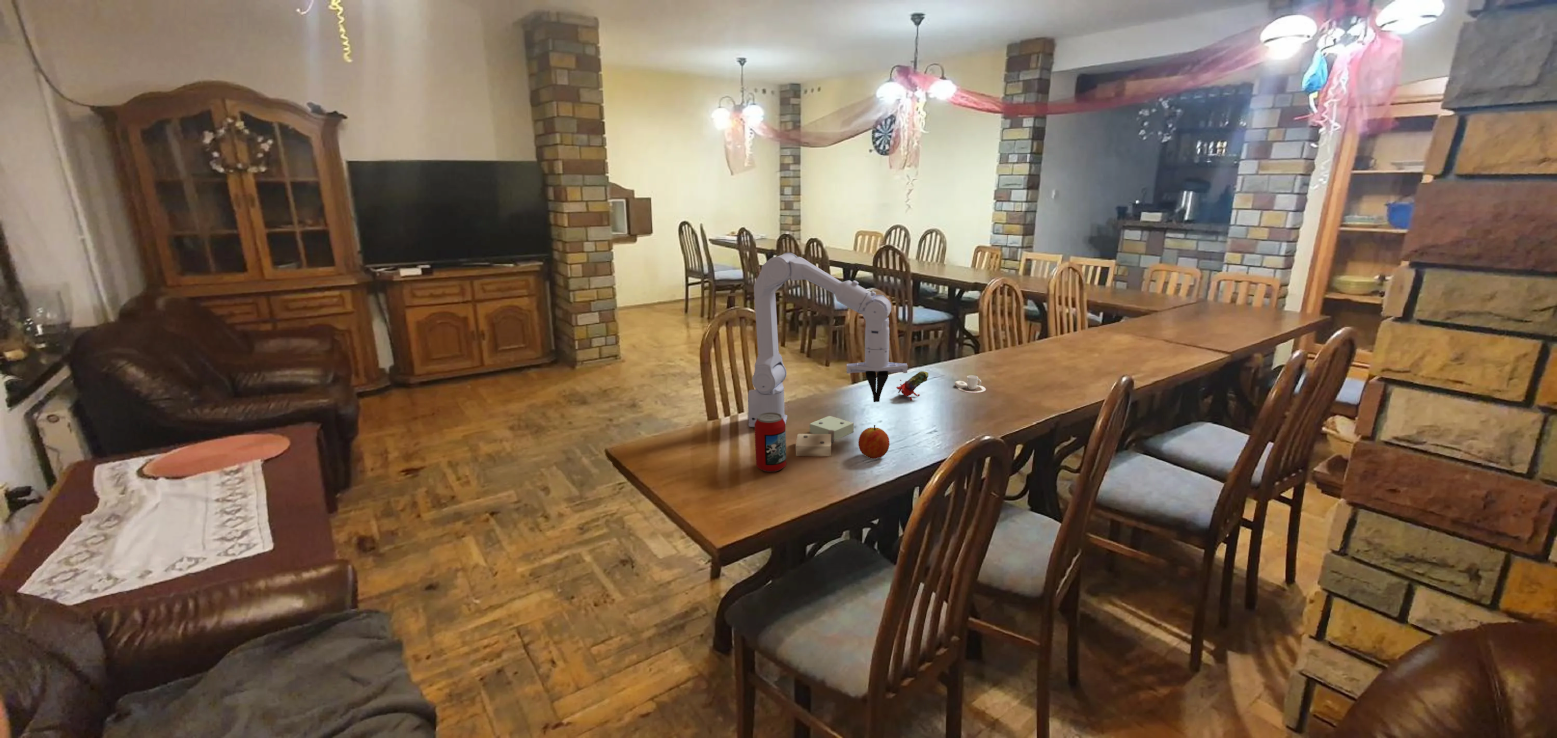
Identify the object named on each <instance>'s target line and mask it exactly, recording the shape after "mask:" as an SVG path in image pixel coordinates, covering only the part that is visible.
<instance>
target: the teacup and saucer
mask: <svg viewBox="0 0 1557 738" xmlns="http://www.w3.org/2000/svg"><path fill="white" fill-rule="evenodd" d="M978 381H979V384H978ZM981 384H982V380H981V379H980V378H979V377H978V376H977V375H966V381H963V380H956V381H955V382H954V386H956V388H957V389H958V390H959V391H961V392H965V393H972V394H973V393H976V394H977V393H978V394H979V393H982V392H985V391H986V390H987V389H986V387H985V386H983V385H981ZM966 388H968V390H965V389H966ZM977 388H980V389H981V390H977V391H973V390H976V389H977ZM971 390H972V391H971Z"/></svg>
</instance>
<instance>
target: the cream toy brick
mask: <svg viewBox="0 0 1557 738" xmlns="http://www.w3.org/2000/svg"><path fill="white" fill-rule="evenodd" d="M854 427H855V425H854V422H852V421H849V420H844V419H842V418H839V417H835V416H832V415H827V416H825V417H822V418H821V419H818V420H815V421H813V422H811V423H809V434H828V431H829V430H834V441H836V440H839V439H841V438H843V437H845V436H848V435H850V434H853V433H854V432H855V431H854Z"/></svg>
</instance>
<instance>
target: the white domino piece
mask: <svg viewBox="0 0 1557 738" xmlns="http://www.w3.org/2000/svg"><path fill="white" fill-rule="evenodd" d="M796 437H797V438H796V440H795V441H796V442H795V456H796V457H797V456H798V457H799V456H800V457H801V456H802V457H804V456H805V457H831V456H832V455H831V454H832V443H833V444H834V443H835V440H834V430H829V431H828V434H813V433H797V436H796Z"/></svg>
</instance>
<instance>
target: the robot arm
mask: <svg viewBox="0 0 1557 738" xmlns="http://www.w3.org/2000/svg"><path fill="white" fill-rule="evenodd" d="M804 280H805V281H808V282H810V283H812V284H814V285H816V286H818V287H820V288H822V289H824V290H826V291H827V292H830V293H832V294H834V296H835V299H836V301H837V302H838V303H840V304H841V305H843V306H844V307H847V308H848V309H851V310H852V311H854V312H856V313H858V314H862V317H863V319H864V321H865V328H864V361H863V362H855V363H846V374H852V373H855V374H856V373H861V374H862V373H865V378H866V381H867V383H868V385H869V387H870V389H871V392H872V393H871V394H872V398H873V403H880V400H881V399H880V398H881V395H882V392H883V388H884V386H885V384H886V382H887V381H888V379H889V373H902V374H908V363H907V362H906V363H905V362H904V363H903V362H901V363H900V362H890V361H889V360H890V327H889V325H890V320H889V319H890V318H889V316H890V313H891V312H892V303H891V301H890V300H889V298H887V297H886V296H885V295H883V294H877V292H876V291H873V290H872V291H870V290H868V289H866V288H864V287H862V286H861V285H859V284H860V283H859V282H858V281H857V280H853V281H851V280H850V279H849V280H845V281H841V280H839V279H838V278H836V277H834V276H833V275H832V274H830V273H828V272H825V270H822V269H821V268H819V267H818V266H817V265H815V264H813V263H811V262H809V260H807V259H805V258H803V257H801V256H797V255H796V254H794V253H793V252H784V253H783V254H781V255H778V256H773V257H771V258H769V259H768V260H767V261H766V262H765V263H763V264H762V265H761V270H760V272H759V274H758V275H757V278H756V280H755V282H754V284H753V295H754V296H753V297H754V298H753V299H754V309H755V310H754V311H755V312H754V313H755V324H756V325H755V326H756V339H757V341H756V342H757V354H758V355H757V357H756V360H755V364H754V373H753V375H752V378H751V382H752V387H753V388H754V389H749V390H748V395H747V411H748V412H747V413H748V414H747V416H748V427H749V428H755V422H756V420H757V417H758V415H760V414H763V413H769V412H772V413H778V414H781V415H782V418H783V420H784V422H785V426H786V424H787V421H788V415H787V414H786V413H785V387H784V384H783V382H784V381H785V379H786V378H787V368H786V366H785V365H784V362H783V356H782V355H781V354H780V352H779V335H778V333H779V332H778V317H777V302H776V301H777V300H776V292H777V290H779V289H780V287H782V285H784V284H785V283H786V282H787V281H792V282H793V281H804Z"/></svg>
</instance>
